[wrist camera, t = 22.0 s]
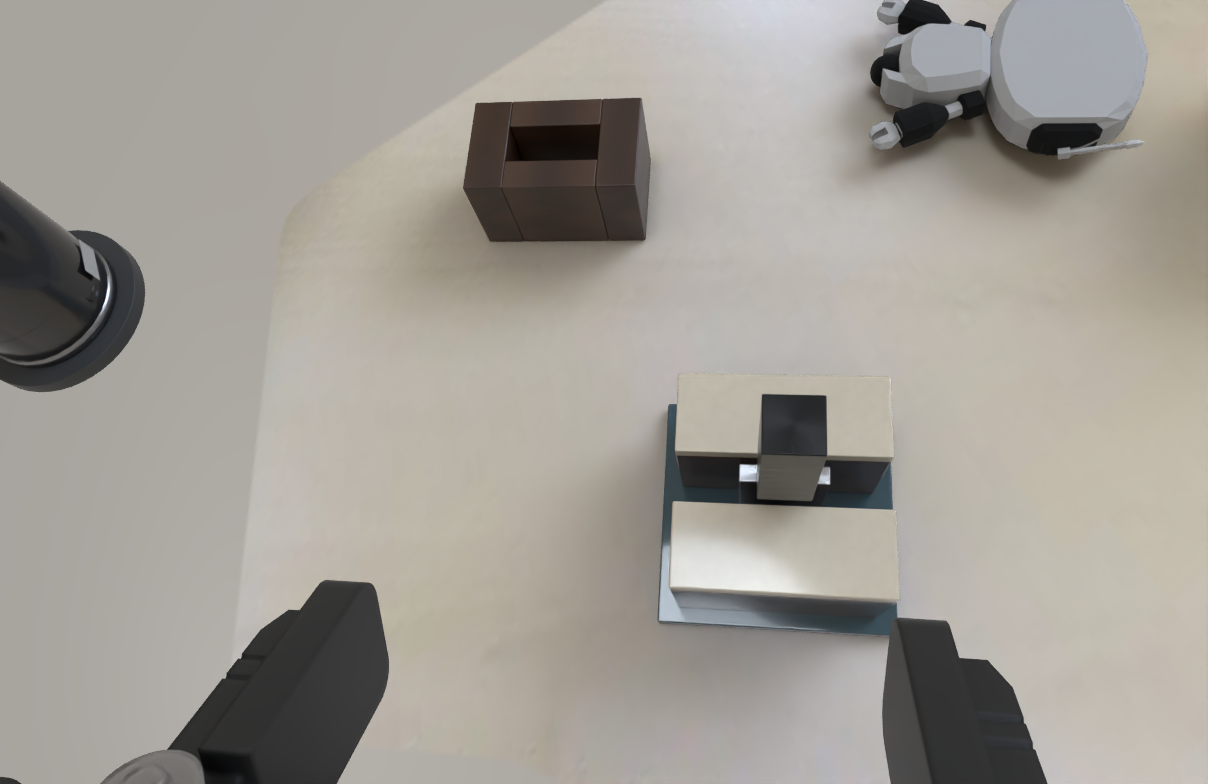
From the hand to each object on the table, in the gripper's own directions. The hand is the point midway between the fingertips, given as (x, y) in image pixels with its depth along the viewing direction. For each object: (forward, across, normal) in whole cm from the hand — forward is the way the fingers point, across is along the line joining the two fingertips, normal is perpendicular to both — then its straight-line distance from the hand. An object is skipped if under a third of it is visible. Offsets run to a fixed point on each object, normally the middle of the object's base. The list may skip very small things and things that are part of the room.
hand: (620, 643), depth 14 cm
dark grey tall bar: (+30, -3, +16) cm, 34 cm away
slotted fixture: (+31, -3, +17) cm, 35 cm away
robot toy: (+50, -16, -2) cm, 53 cm away
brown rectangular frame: (+45, +10, +3) cm, 46 cm away
